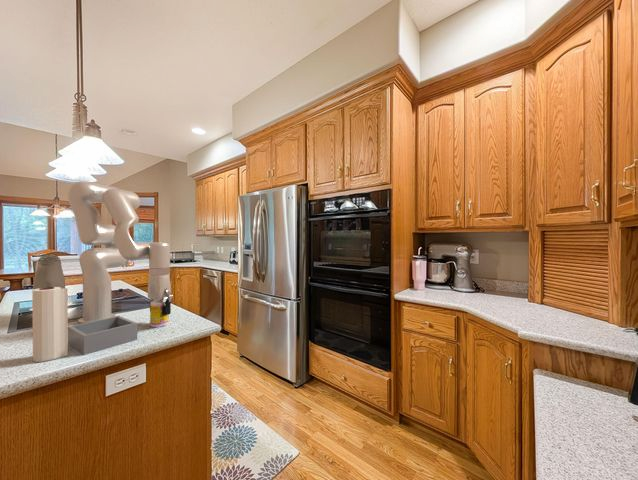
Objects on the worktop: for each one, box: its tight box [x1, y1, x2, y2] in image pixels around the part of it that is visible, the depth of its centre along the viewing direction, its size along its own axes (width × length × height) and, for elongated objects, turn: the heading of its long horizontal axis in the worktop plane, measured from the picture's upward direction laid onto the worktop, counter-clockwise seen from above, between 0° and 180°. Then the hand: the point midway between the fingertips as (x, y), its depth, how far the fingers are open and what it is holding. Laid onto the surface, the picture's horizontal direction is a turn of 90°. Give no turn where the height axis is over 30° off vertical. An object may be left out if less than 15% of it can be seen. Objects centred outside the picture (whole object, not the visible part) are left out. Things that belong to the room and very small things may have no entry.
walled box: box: [68, 315, 138, 356], centre depth 94 cm, size 15×15×6 cm
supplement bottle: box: [149, 297, 170, 328], centre depth 112 cm, size 7×7×13 cm
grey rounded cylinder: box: [32, 254, 66, 290], centre depth 120 cm, size 10×10×28 cm
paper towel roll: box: [31, 287, 69, 363], centre depth 81 cm, size 7×6×21 cm
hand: (160, 312), depth 112 cm, fingers open, 9 cm apart
